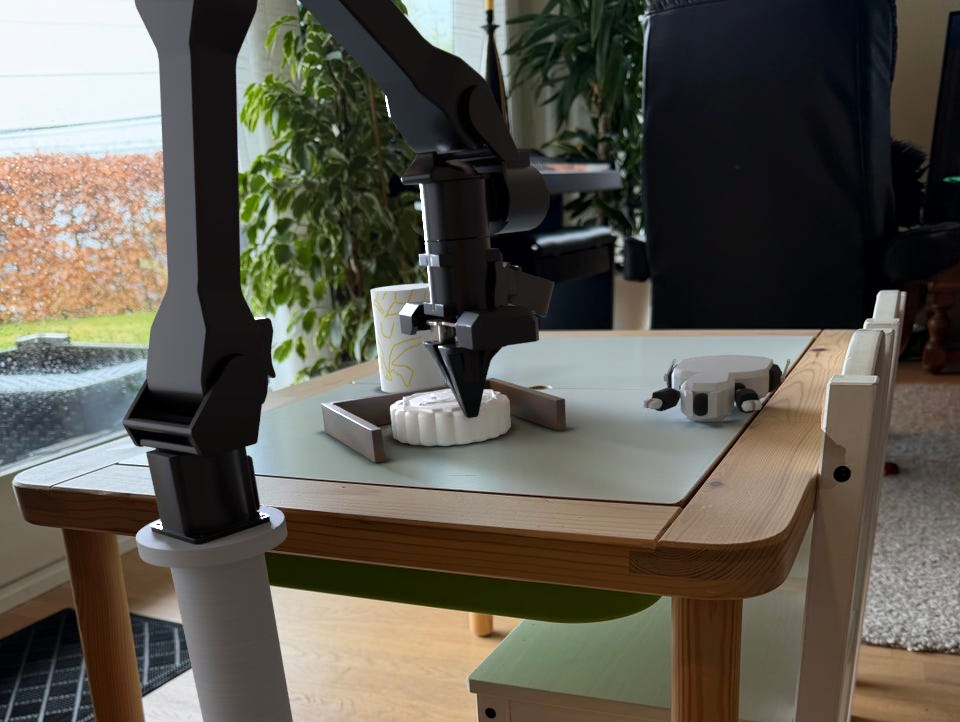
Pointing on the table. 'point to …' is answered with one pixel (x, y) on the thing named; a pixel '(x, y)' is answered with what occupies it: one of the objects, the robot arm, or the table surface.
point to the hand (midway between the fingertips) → (471, 417)
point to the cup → (402, 341)
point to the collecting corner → (362, 415)
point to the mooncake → (448, 419)
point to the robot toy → (717, 385)
